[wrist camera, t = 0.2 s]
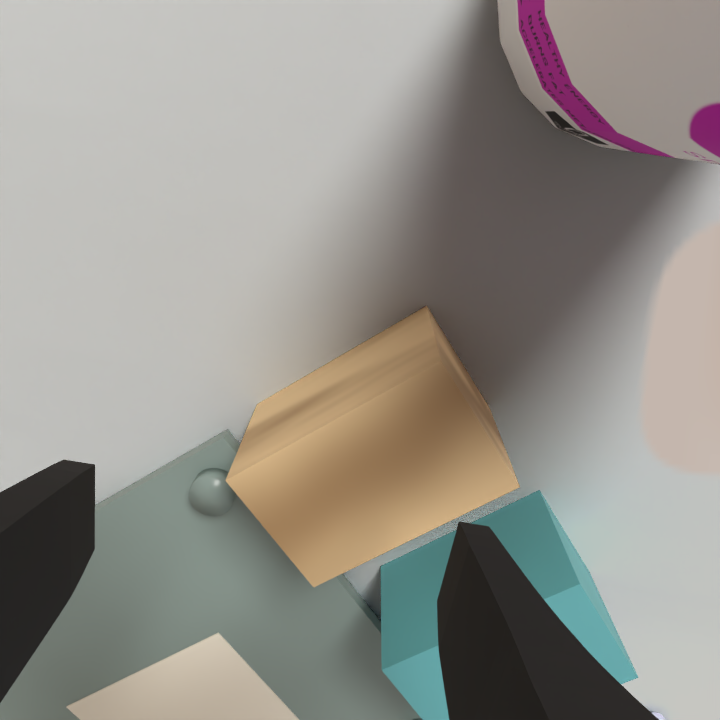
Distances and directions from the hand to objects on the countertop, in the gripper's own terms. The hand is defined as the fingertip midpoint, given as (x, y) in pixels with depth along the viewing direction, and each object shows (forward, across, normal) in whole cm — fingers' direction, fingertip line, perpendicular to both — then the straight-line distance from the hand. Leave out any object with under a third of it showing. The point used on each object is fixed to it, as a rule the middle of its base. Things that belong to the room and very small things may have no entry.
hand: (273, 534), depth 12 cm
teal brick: (+10, -8, +8) cm, 15 cm away
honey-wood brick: (+10, -2, +2) cm, 10 cm away
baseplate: (+10, +4, +16) cm, 19 cm away
